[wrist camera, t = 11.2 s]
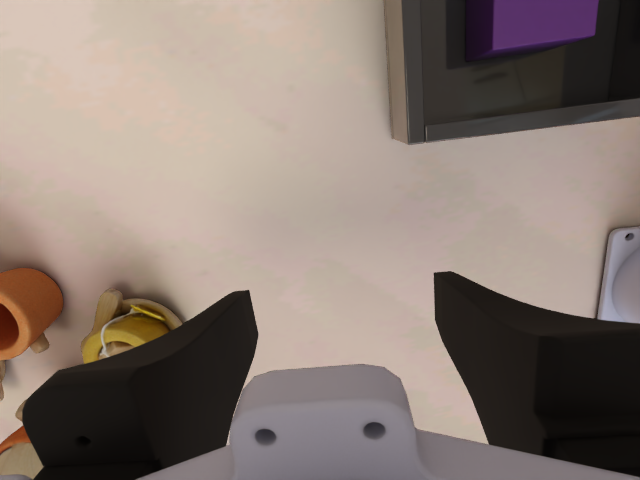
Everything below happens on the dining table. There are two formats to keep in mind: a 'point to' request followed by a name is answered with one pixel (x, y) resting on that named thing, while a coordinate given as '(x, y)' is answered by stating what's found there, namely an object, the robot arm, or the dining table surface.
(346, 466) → the robot arm
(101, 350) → the toy tea set
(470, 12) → the candy bar
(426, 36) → the sink
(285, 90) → the dining table surface
